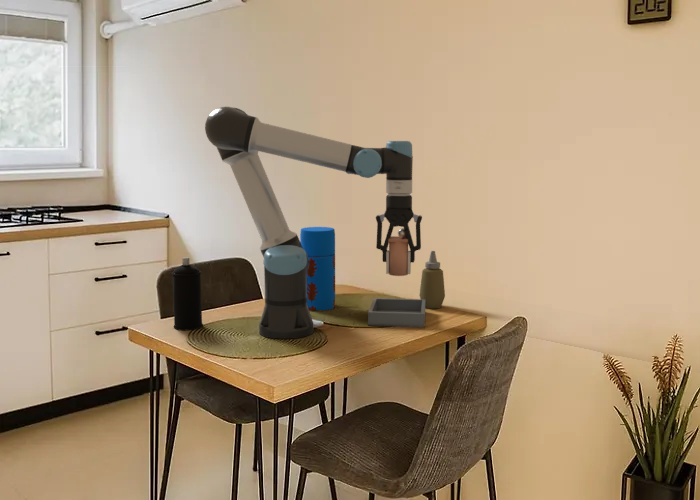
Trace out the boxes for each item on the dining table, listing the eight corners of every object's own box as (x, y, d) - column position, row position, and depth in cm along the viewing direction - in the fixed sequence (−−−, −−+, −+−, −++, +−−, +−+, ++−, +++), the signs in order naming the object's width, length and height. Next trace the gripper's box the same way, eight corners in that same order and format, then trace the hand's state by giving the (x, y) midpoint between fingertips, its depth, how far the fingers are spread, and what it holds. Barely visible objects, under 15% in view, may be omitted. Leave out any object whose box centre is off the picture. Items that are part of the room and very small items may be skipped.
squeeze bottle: (415, 308, 228) (416, 252, 225) (424, 302, 235) (425, 248, 232) (439, 311, 224) (440, 254, 221) (448, 305, 231) (449, 250, 228)
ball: (399, 227, 210) (407, 225, 212) (394, 232, 213) (401, 229, 214) (404, 236, 210) (411, 234, 211) (398, 241, 212) (406, 238, 214)
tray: (368, 325, 207) (368, 312, 207) (373, 310, 225) (373, 298, 224) (424, 327, 205) (424, 313, 205) (425, 312, 223) (425, 299, 222)
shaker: (388, 275, 210) (388, 239, 209) (389, 272, 216) (389, 236, 214) (407, 276, 210) (407, 239, 208) (408, 272, 215) (408, 236, 214)
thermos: (296, 309, 226) (295, 230, 222) (308, 301, 237) (307, 226, 232) (329, 311, 223) (328, 231, 219) (339, 304, 233) (339, 227, 229)
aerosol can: (196, 331, 202) (193, 260, 198) (168, 329, 203) (165, 259, 200) (207, 323, 210) (205, 255, 206) (181, 322, 211) (178, 254, 208)
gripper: (365, 195, 207) (365, 274, 210) (431, 195, 204) (429, 276, 208) (368, 193, 214) (368, 269, 218) (431, 193, 212) (430, 271, 215)
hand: (398, 272), depth 213 cm, fingers closed on shaker, 6 cm apart
